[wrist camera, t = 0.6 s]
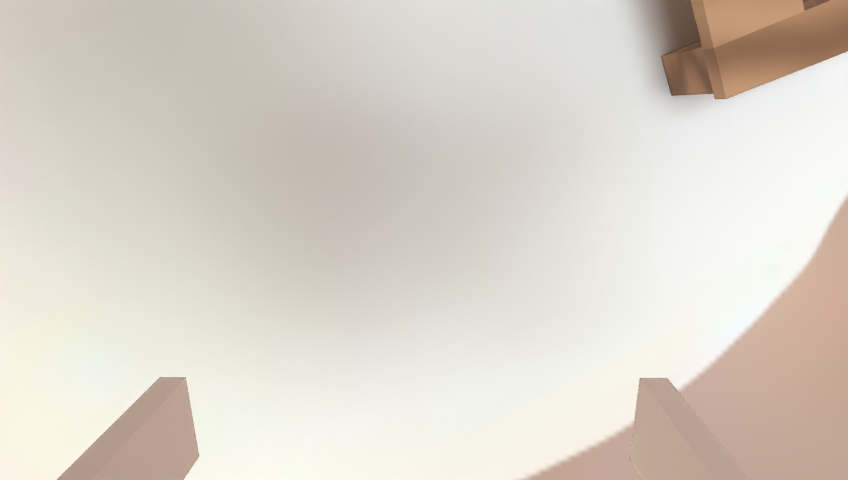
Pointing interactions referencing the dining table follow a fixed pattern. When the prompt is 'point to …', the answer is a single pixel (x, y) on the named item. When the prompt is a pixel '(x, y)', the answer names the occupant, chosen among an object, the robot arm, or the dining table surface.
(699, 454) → the robot arm
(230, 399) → the dining table surface
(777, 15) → the keyhole shelf
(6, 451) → the dining table surface
